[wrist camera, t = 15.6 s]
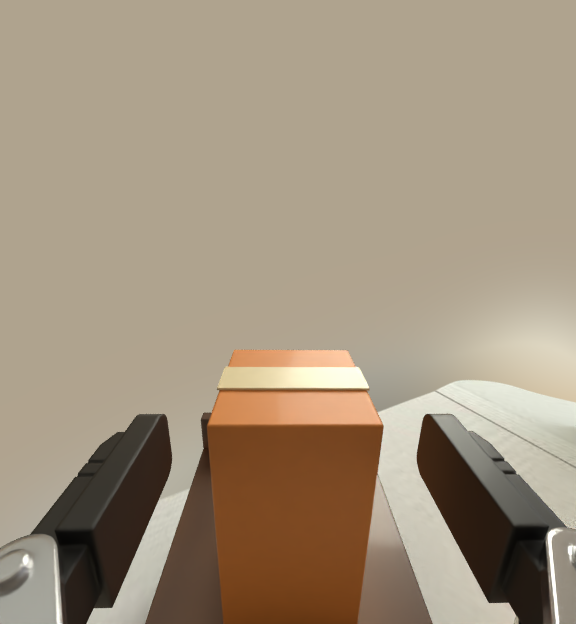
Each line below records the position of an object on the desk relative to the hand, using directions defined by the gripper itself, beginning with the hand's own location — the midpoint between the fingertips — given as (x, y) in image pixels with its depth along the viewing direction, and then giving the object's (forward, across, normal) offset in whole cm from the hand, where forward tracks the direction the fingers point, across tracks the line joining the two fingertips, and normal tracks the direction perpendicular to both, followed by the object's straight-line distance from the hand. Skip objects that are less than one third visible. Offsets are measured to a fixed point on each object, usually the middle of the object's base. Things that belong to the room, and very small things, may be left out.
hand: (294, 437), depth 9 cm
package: (+3, 0, +10) cm, 10 cm away
